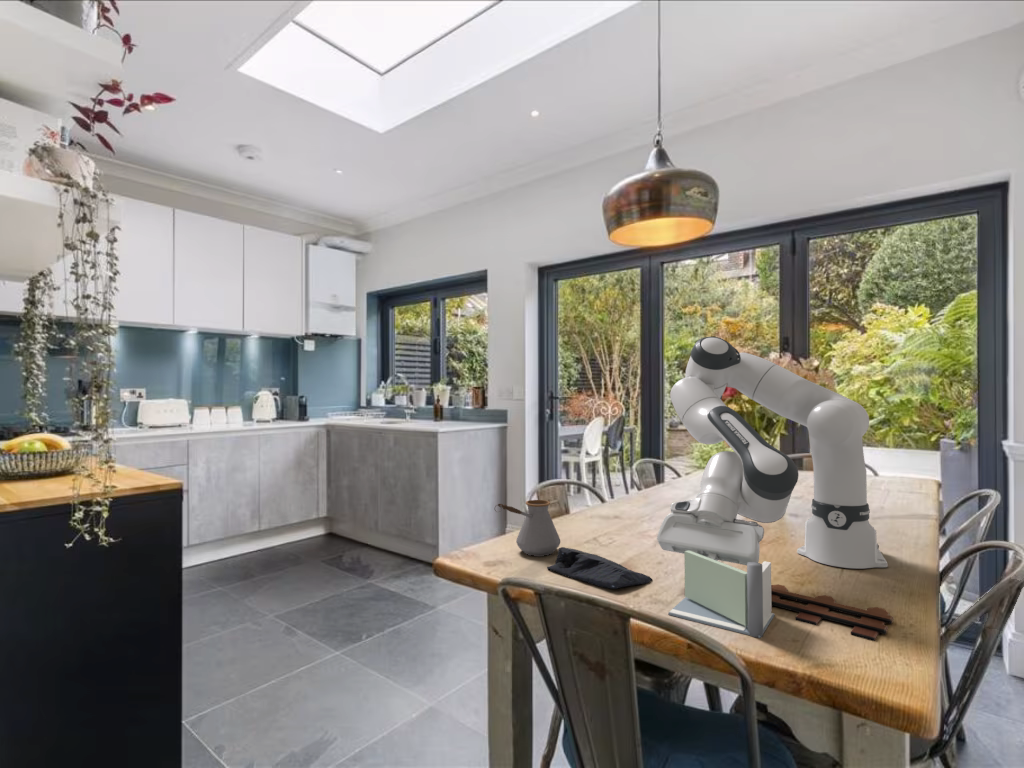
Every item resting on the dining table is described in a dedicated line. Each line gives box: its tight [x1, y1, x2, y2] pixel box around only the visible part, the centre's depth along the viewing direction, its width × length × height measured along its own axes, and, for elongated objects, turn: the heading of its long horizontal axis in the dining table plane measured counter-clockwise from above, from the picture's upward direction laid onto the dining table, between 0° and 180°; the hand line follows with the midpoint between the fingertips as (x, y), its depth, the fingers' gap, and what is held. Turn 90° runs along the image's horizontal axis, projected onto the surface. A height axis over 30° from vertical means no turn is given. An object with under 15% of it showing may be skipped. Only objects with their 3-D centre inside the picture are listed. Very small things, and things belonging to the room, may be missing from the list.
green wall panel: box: [683, 550, 748, 626], centre depth 101 cm, size 15×1×9 cm, turn 25°
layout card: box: [668, 596, 775, 639], centre depth 101 cm, size 11×16×1 cm
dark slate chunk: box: [546, 546, 653, 590], centre depth 124 cm, size 15×22×5 cm
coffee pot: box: [494, 499, 561, 557], centre depth 137 cm, size 21×12×15 cm, turn 139°
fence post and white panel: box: [746, 560, 773, 638], centre depth 96 cm, size 11×2×12 cm, turn 143°
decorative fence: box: [771, 584, 895, 642], centre depth 103 cm, size 23×2×15 cm
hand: (699, 574), depth 109 cm, fingers closed
